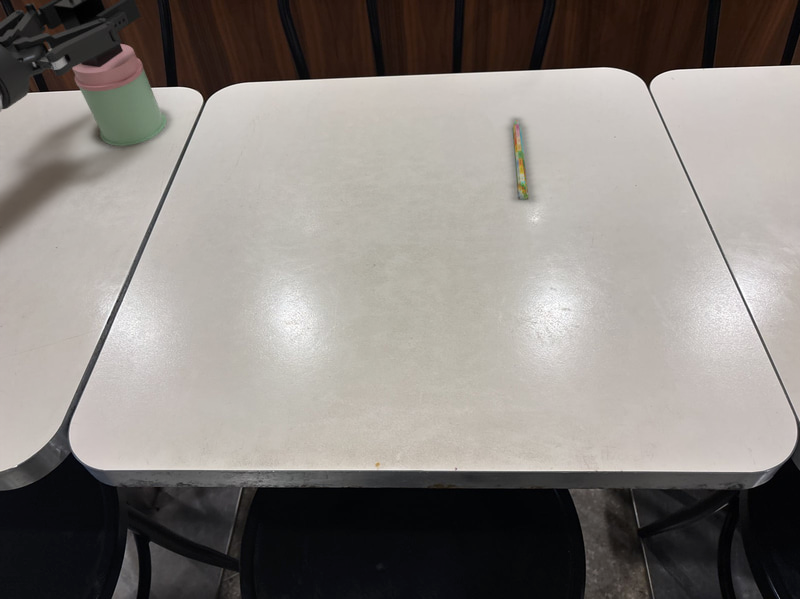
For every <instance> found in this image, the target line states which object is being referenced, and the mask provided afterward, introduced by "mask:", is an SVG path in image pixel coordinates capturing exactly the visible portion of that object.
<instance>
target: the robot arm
mask: <svg viewBox="0 0 800 599" xmlns="http://www.w3.org/2000/svg"><path fill="white" fill-rule="evenodd" d="M60 1H62V0H51V1H49V2H46V3H45V4H44V5H41V6H40V7H38V10H37V8H36V6H35V4H34V3H32V2H31V3H27V4H25V5H24V8H25V10H26V13H25V12H24V10H22V9H17V10H15V11H13V12H12V13H11V14H9V15H8V16H7V17H5V18H4V19H3V20H1V21H0V113H1V112H2V110H7V109H9V108H10V107H11V106H13V105H15V104H16V103H18V102H19V101H20V100H22V99H23V98H25V97H26V96H27V95H28V94H29V91H30V79H31V77H33V76H37V75H40V74H42V73H44V72H45V71H46V70H52V71H53V72H54V74H55V76H56V77H60V76H64V75H65V74H67V73H68V72H69V71H70V70H73V69H72V68H73V67H74V66H76V65H78V64H80V63H82V62H84V61H86V60H88V59H90V58H92V57H94V56H96V55H98V54H100V53H102V52H104V51H106V50H108V49H110V48H112V47H114V46H116V45H118V44H122V40H121V37H120V36H119V32H120V31H121V30H123V29H125V28H126V27H128V26H130V25H131V24H132V23H133V22H135V21H136V20H138V19H139V18H141V17H142V16H141V13H140V10H139V7H138V5H137V2H136V0H119V1H118V2H116V3H114V4H113V5H111V6H109V7H108V8H105V9H106V10H104V11H103V12H101V13H100V14H98V15H96V17H97V20H95V21H92V22H89V23H86V24H83V25H80V26H77V27H74V28H71V29H69V30H63V31H60V32H57V33H54V34H50V33H48V32H45V31H46V30H47V29H48V30H54V29H57V28H58V27H59V26H61V25H63V24H62V22H61V20H60V18H59V16H58V14H57V11H56V9H55V7H54V5H55V4H57V3H59V2H60ZM46 26H47V28H46ZM45 42H46V44H47V45H48V48H47V45H46V44H45Z"/></svg>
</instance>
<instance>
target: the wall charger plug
mask: <svg viewBox="0 0 800 599" xmlns="http://www.w3.org/2000/svg"><path fill="white" fill-rule="evenodd" d="M54 7H55V9H56V11H57V14H58V16H59V18H60V20H61V22H62V24H61V25H62V26H63V27H64V31H66V30H69V29H71V28H74V27H77V26H80V25H83V24H86V23H89V22H92V21H95V20H97V17H96V15H98V14H100V13H101V12H103V11H104V10H106V9H107V8H106V7H105V5H104V2H103V0H62V1H60V2H59V3H57V4H55V5H54ZM120 44H121V43H120ZM120 44H118V45H116V46H114V47H112V48H110V49H108V50H106V51H104V52H102V53H100V54H98V55H96V56H94V57H92V58H90V59H88V60H86V61H84V62H82V65H88V66H95V67H101V66H102V65H104V64H105V63H107V62H108V61H109V60H111V59H112V58H114V57H115V56H116V55H118V54H119V53H121V52H122V51H123V50H122V47H121V45H120Z"/></svg>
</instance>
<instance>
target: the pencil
mask: <svg viewBox="0 0 800 599" xmlns="http://www.w3.org/2000/svg"><path fill="white" fill-rule="evenodd" d="M512 135H513V146H514V155H515V156H514V157H515V168H516V169H515V170H516V179H517V193H518V199H520V200H523V201H524V200H527V199H528V198H529V196H530V195H529V189H528V181H527V172H526V162H525V152H524V143H523V142H524V141H523V134H522V126H521V125H520V122H519V121H518V119H517V118H515V120H514V124H513V126H512Z"/></svg>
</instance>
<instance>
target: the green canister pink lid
mask: <svg viewBox="0 0 800 599" xmlns="http://www.w3.org/2000/svg"><path fill="white" fill-rule="evenodd" d="M120 45H121V47H122V50H123V51H122V52H121V53H119V54H118V55H116V56H115V57H114V58H112V59H111V60H109V61H108V62H107V63H105V64H104V65H102V66H101V67H95V66H88V65H82V63H80V64H78V65H76V66H74V67H73V68H72V69H71V70H72V71H73V74H74V82H75V84H76V86H77V87H78V88H79V90H80V92H81V94H82V96H83V98H84V101H85V103H86V104H87V106H88V108H89V110H90V112H91V114H92V117H93V118H94V120H95V122H96V124H97V126H98V128H99V130H100V131H99V135H100V138H101V140H102V141H103V142H104V143H105V144H108V145H110V146H114V147H115V146H117V147H127V146H134V145H138V144H141V143H144V142H148V141H149V140H151V139H152V138H153V139H154V137H157V136H158V135H159V134H160V133H161V132H162V131H163V130H164V129H165V128H166V125H167V123H168V120H167V119H168V118H167V117H166V115H165V114H164V113H163V112H162V111H161V108H160V107H159V103H158V101H157V98H156V96H155V94H154V92H153V89H152V86H151V83H150V82H149V79H148V77H147V74H146V72H145V69H144V65H143V62H142V60H140V58H138V57H137V55H136V52H135V50H134V48H133V47H132V46H130V45H127V44H123V43H120Z"/></svg>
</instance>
